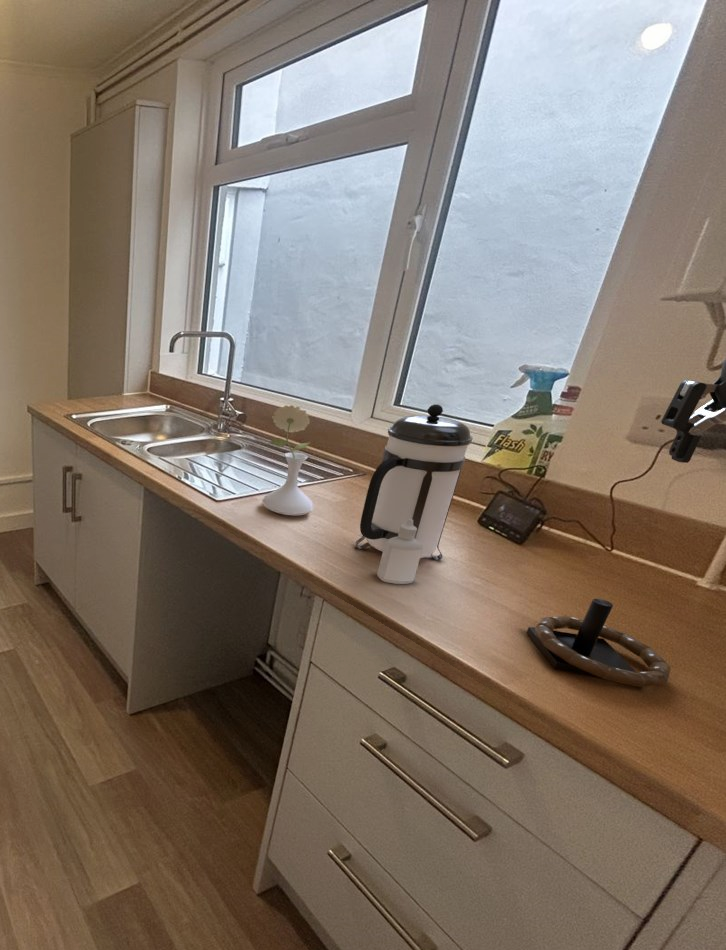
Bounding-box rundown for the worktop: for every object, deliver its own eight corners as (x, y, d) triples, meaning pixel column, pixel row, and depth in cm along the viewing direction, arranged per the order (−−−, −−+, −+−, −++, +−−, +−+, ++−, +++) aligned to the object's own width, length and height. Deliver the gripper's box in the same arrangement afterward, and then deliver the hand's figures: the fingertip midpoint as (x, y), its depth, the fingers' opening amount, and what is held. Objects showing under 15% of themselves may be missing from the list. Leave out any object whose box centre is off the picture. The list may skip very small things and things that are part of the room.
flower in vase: (321, 512, 125) (342, 407, 116) (296, 524, 119) (316, 415, 109) (271, 496, 135) (287, 399, 125) (245, 507, 129) (260, 405, 119)
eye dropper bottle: (411, 589, 93) (429, 527, 88) (375, 580, 96) (390, 520, 91) (413, 579, 96) (430, 519, 92) (378, 570, 99) (393, 512, 95)
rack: (600, 645, 78) (625, 591, 74) (637, 684, 70) (668, 627, 67) (526, 632, 81) (546, 580, 77) (553, 669, 73) (578, 613, 70)
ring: (631, 638, 78) (637, 628, 77) (690, 701, 66) (698, 691, 66) (519, 614, 82) (524, 605, 82) (557, 670, 71) (563, 660, 70)
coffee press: (347, 531, 115) (378, 394, 104) (434, 544, 109) (478, 400, 97) (350, 565, 101) (386, 411, 89) (450, 584, 94) (503, 419, 83)
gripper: (729, 335, 61) (669, 467, 67) (909, 337, 57) (827, 478, 63) (685, 331, 68) (634, 451, 74) (843, 332, 63) (774, 460, 69)
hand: (722, 464), depth 68 cm, fingers open, 8 cm apart
